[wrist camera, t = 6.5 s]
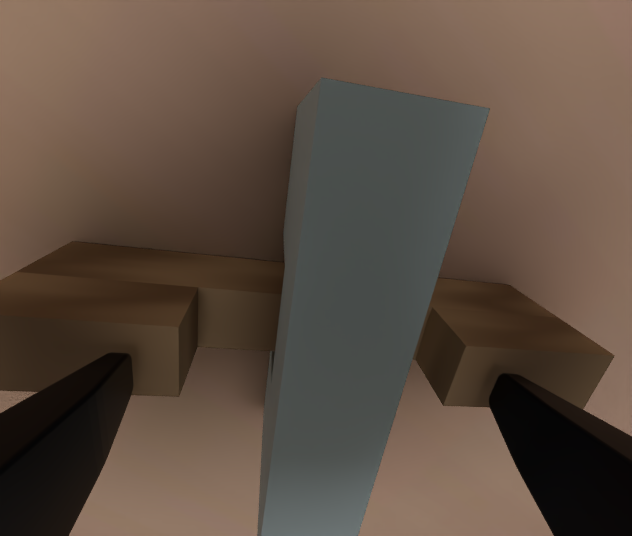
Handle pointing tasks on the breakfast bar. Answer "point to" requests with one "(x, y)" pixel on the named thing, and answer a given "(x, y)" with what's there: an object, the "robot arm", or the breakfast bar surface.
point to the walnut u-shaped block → (258, 324)
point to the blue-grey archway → (354, 291)
